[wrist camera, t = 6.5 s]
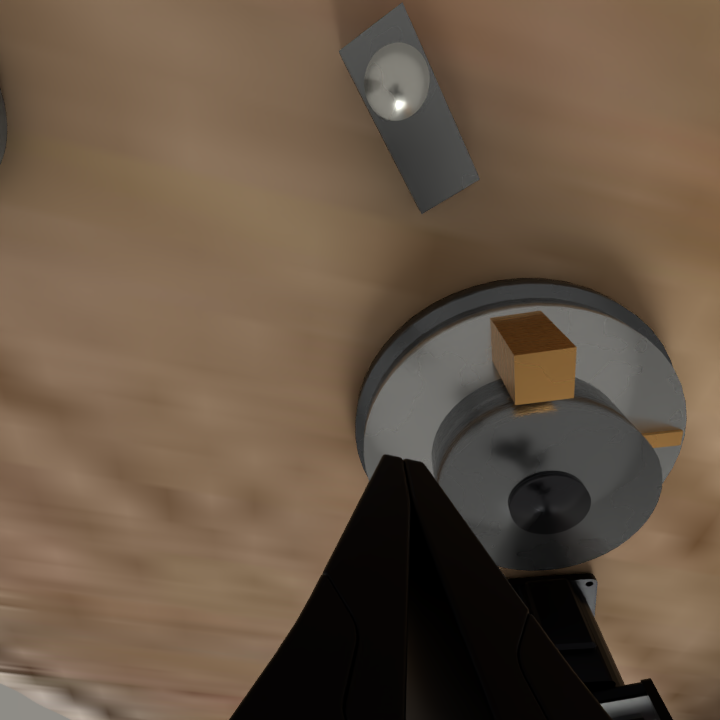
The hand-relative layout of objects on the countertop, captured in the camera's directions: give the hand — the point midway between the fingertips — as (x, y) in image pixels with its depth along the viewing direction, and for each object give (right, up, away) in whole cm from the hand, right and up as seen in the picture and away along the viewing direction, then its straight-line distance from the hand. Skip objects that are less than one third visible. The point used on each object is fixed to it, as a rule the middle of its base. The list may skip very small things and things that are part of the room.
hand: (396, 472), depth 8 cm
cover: (+7, -2, +12) cm, 14 cm away
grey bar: (+1, +12, +8) cm, 14 cm away
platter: (+7, -2, +13) cm, 15 cm away
